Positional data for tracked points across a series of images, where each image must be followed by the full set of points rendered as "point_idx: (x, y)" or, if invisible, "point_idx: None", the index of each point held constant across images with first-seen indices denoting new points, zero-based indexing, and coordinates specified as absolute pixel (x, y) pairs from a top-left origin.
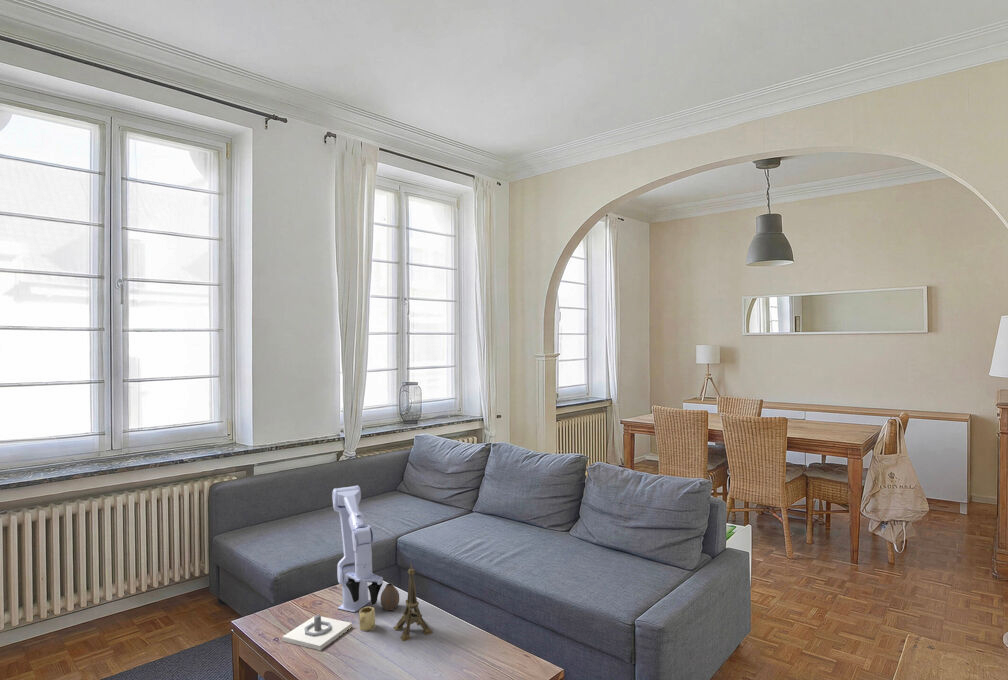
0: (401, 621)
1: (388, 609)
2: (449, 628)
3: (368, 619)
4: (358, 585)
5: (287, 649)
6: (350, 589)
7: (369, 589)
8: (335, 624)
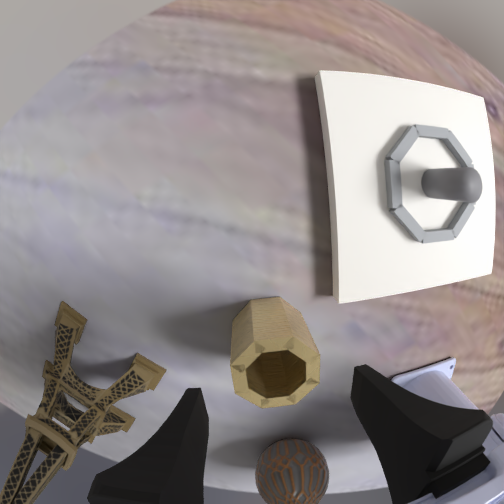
0: (119, 387)
1: (278, 442)
2: (38, 405)
3: (240, 336)
4: (388, 471)
5: (423, 56)
6: (424, 409)
7: (158, 475)
8: (399, 255)
